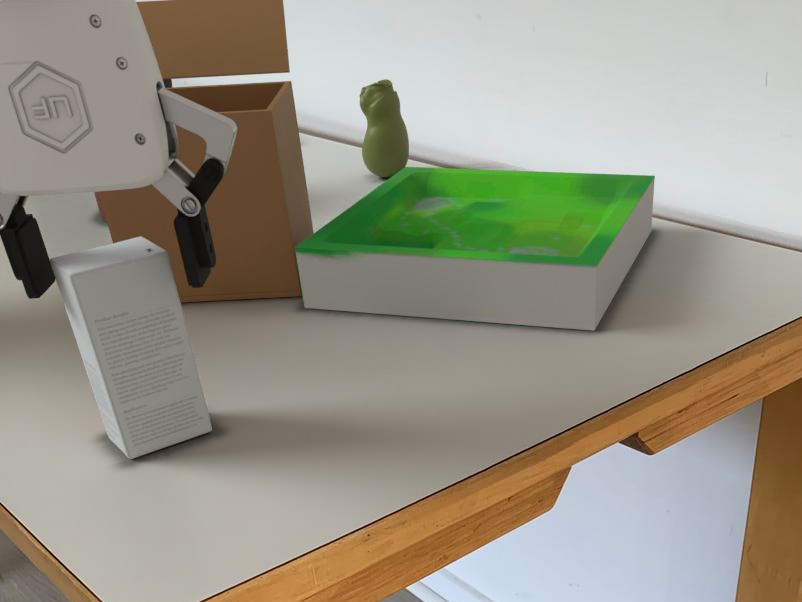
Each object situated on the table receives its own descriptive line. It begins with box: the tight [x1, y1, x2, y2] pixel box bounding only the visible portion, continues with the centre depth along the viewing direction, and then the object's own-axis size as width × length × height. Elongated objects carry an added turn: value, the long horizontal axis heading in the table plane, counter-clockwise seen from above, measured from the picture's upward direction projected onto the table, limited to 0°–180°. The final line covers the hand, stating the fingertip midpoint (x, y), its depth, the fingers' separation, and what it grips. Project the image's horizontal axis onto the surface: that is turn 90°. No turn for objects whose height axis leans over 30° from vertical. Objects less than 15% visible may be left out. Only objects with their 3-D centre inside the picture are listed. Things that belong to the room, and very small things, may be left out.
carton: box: [99, 80, 315, 303], centre depth 85 cm, size 15×12×14 cm
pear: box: [359, 78, 410, 178], centre depth 111 cm, size 6×5×10 cm
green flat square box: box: [295, 166, 656, 332], centre depth 87 cm, size 25×25×5 cm
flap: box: [136, 0, 291, 80], centre depth 84 cm, size 15×6×1 cm
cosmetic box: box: [49, 236, 213, 460], centre depth 62 cm, size 6×4×12 cm
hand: (121, 285), depth 59 cm, fingers open, 9 cm apart
